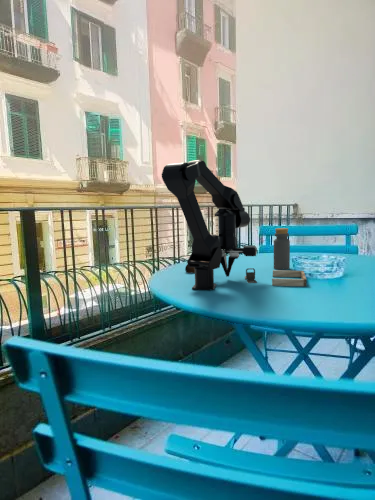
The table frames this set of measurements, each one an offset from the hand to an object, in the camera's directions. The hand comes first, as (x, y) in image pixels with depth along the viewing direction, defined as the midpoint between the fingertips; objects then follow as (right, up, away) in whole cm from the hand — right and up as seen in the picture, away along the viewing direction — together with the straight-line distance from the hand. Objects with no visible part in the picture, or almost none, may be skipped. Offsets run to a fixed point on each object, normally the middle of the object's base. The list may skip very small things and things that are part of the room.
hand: (227, 276), depth 120 cm
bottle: (+22, +2, +16) cm, 27 cm away
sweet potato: (-7, +1, +20) cm, 21 cm away
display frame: (+19, -1, -5) cm, 20 cm away
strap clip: (+7, -2, -2) cm, 8 cm away
